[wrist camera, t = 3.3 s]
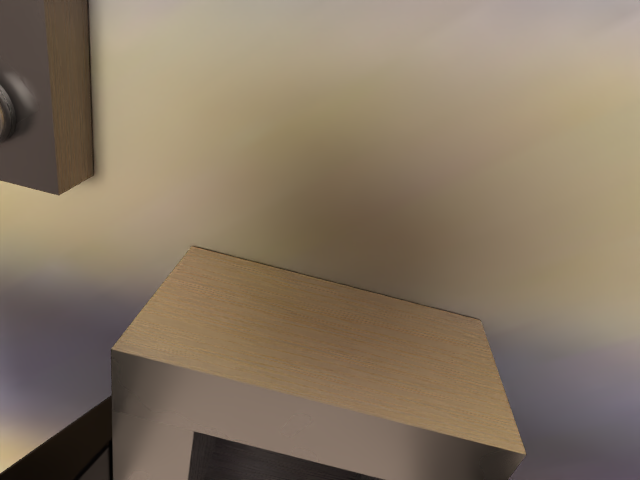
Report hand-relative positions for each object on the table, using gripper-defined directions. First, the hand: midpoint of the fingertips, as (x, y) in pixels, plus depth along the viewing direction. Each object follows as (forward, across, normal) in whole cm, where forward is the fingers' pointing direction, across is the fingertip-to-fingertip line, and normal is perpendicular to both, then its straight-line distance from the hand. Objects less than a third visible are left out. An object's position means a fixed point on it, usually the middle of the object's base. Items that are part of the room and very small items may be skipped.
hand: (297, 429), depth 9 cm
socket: (+1, 0, 0) cm, 1 cm away
